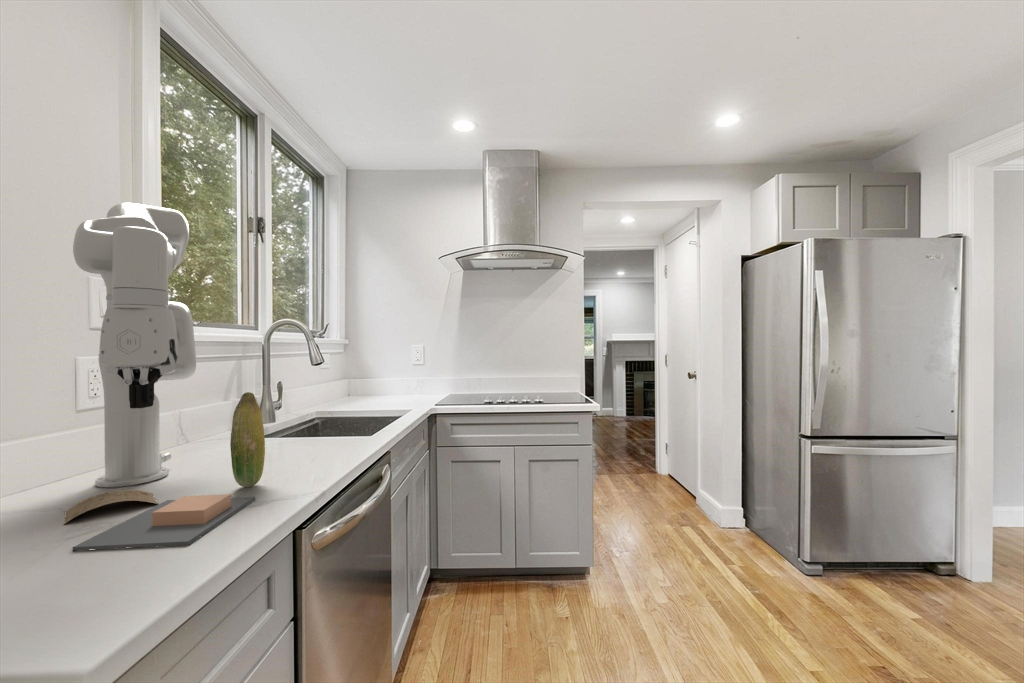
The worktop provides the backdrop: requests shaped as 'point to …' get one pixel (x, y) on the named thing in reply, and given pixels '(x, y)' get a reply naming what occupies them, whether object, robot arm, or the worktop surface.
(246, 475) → the vegetable
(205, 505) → the block
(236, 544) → the worktop surface
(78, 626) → the worktop surface
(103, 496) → the cork arch piece
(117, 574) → the worktop surface
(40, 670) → the worktop surface
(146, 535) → the mat
